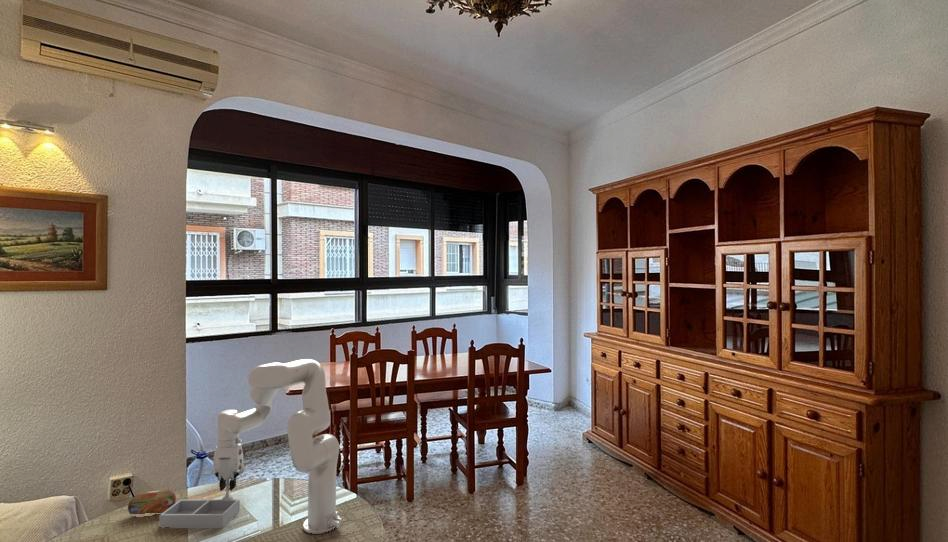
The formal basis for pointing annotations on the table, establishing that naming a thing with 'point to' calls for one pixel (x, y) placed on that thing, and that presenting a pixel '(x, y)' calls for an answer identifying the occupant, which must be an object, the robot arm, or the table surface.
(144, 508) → the tin
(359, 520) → the table surface
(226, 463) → the chalice
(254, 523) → the table surface
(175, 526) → the holder
